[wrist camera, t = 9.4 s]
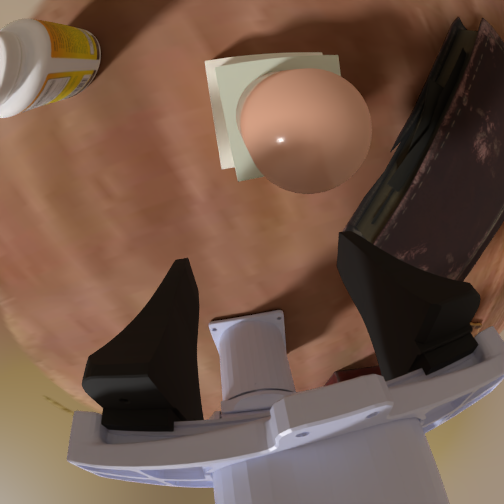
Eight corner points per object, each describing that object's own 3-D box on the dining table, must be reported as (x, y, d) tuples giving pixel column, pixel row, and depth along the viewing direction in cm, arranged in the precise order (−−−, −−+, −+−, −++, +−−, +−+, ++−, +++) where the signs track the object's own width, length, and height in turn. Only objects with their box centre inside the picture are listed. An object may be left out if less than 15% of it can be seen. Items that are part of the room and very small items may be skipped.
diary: (522, 118, 19) (550, 132, 15) (437, 270, 32) (458, 296, 28) (445, 11, 13) (483, 11, 9) (333, 226, 25) (356, 258, 21)
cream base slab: (311, 143, 20) (328, 155, 18) (220, 154, 20) (221, 169, 17) (305, 55, 16) (322, 52, 14) (206, 64, 16) (204, 61, 13)
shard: (458, 319, 40) (463, 326, 38) (486, 300, 39) (491, 307, 37) (448, 347, 46) (452, 354, 44) (474, 331, 45) (478, 337, 43)
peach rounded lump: (331, 152, 14) (372, 184, 10) (244, 166, 14) (257, 204, 10) (322, 67, 11) (367, 67, 8) (227, 78, 11) (234, 76, 8)
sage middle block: (325, 146, 17) (347, 163, 14) (233, 162, 17) (238, 181, 14) (315, 57, 14) (338, 55, 11) (214, 69, 14) (214, 67, 11)
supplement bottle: (55, 27, 11) (-35, 19, 3) (115, 34, 13) (37, 12, 5) (34, 93, 14) (-57, 125, 6) (89, 104, 16) (4, 137, 8)
